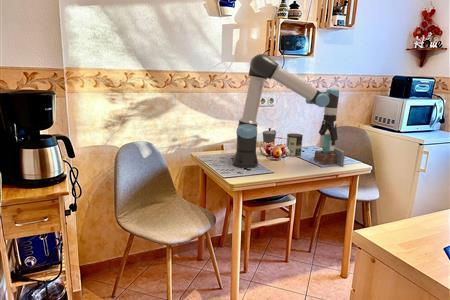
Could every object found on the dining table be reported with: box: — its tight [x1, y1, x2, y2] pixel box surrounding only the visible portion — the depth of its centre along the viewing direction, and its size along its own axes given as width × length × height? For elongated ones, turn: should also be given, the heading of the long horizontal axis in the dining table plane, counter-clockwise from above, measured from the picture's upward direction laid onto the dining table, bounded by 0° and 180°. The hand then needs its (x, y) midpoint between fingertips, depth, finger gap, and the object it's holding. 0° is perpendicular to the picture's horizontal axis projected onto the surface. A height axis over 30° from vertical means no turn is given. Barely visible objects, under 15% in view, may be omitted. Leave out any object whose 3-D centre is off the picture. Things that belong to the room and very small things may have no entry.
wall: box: [331, 146, 346, 167], centre depth 212 cm, size 2×20×9 cm, turn 10°
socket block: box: [313, 150, 337, 165], centre depth 211 cm, size 10×10×6 cm
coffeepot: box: [262, 127, 277, 143], centre depth 224 cm, size 15×9×18 cm, turn 144°
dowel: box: [321, 133, 331, 154], centre depth 209 cm, size 4×4×16 cm
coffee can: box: [286, 133, 304, 158], centre depth 224 cm, size 10×10×14 cm
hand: (326, 147), depth 210 cm, fingers open, 13 cm apart
